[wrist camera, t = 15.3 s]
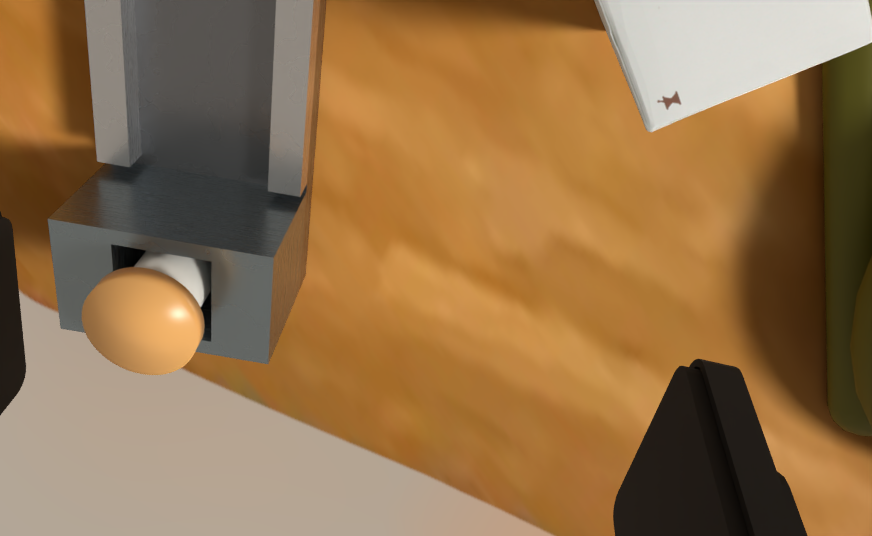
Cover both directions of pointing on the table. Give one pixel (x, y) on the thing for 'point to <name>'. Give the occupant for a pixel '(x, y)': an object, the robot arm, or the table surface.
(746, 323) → the table surface
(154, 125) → the rail base
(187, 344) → the button
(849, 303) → the green toy turtle
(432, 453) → the table surface
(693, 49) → the supplement box
